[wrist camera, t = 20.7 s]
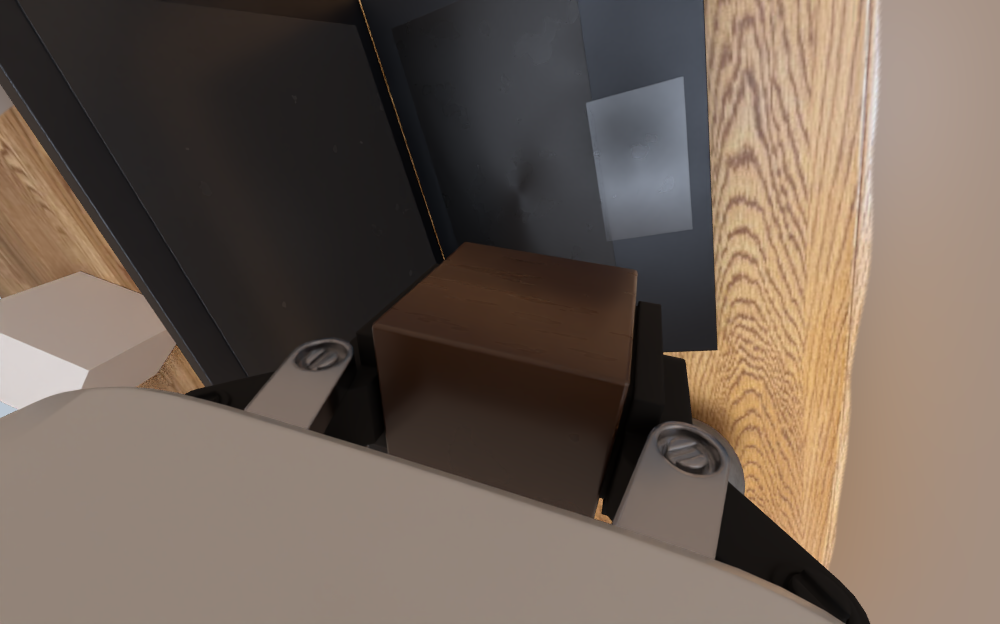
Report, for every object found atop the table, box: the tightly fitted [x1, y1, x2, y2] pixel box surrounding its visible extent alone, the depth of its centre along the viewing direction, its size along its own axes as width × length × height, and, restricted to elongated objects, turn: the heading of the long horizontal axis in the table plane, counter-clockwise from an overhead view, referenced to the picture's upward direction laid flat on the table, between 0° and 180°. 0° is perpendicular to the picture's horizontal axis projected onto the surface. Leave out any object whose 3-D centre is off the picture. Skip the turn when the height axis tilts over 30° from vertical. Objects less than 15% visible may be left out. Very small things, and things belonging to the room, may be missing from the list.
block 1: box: [0, 271, 176, 410], centre depth 56 cm, size 18×35×12 cm, turn 106°
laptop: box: [360, 0, 717, 352], centre depth 31 cm, size 21×30×2 cm
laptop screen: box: [0, 0, 444, 454], centre depth 26 cm, size 21×30×1 cm
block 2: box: [372, 242, 638, 519], centre depth 10 cm, size 5×5×5 cm
